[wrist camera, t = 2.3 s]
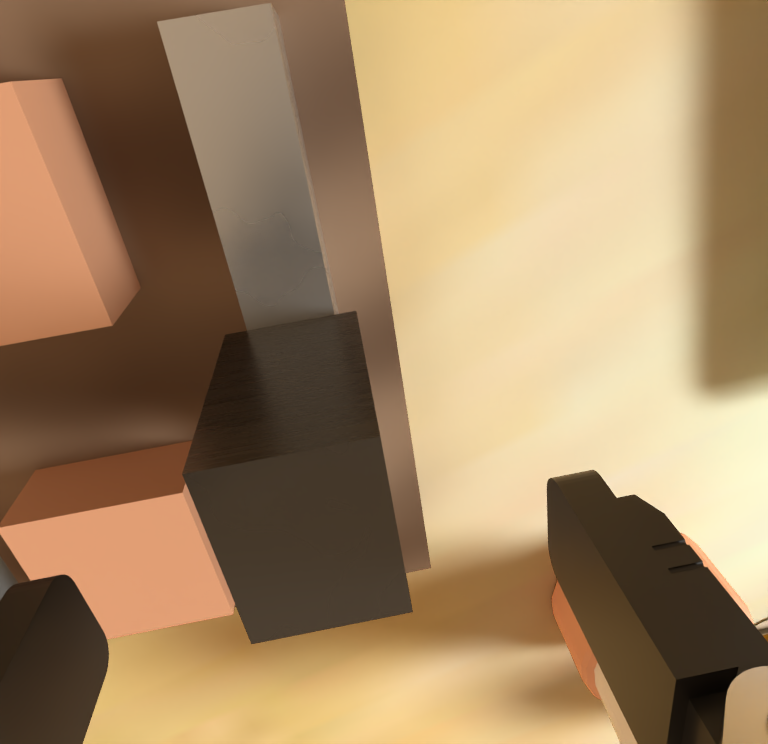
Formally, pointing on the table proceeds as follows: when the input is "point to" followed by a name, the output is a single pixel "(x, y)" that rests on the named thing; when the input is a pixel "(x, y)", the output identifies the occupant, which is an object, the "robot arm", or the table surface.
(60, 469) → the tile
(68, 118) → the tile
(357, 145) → the board
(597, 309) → the table surface
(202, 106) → the gray bar with block
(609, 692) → the pepper shaker
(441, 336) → the table surface
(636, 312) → the table surface
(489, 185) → the table surface
